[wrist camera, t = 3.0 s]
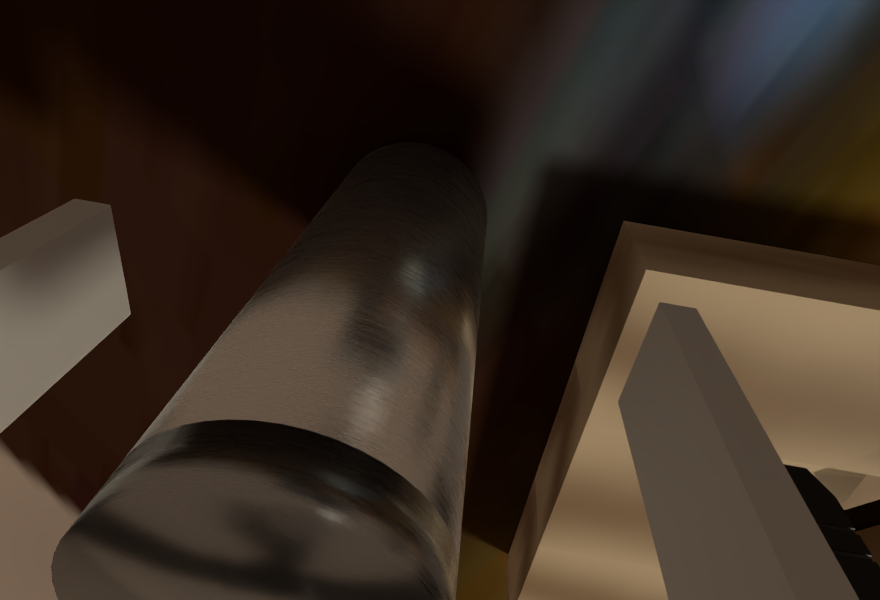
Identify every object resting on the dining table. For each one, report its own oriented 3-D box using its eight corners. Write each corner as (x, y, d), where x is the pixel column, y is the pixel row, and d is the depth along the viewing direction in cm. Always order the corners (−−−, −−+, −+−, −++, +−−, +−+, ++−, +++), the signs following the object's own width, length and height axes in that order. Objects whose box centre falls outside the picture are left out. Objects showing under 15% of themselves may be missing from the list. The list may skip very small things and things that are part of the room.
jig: (623, 220, 16) (646, 269, 13) (1259, 331, 15) (1409, 404, 13) (508, 554, 24) (508, 624, 21) (918, 630, 24) (967, 710, 21)
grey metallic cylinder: (343, 129, 15) (1, 458, 5) (500, 156, 15) (485, 548, 5) (337, 267, 17) (94, 689, 7) (473, 292, 17) (423, 751, 7)
